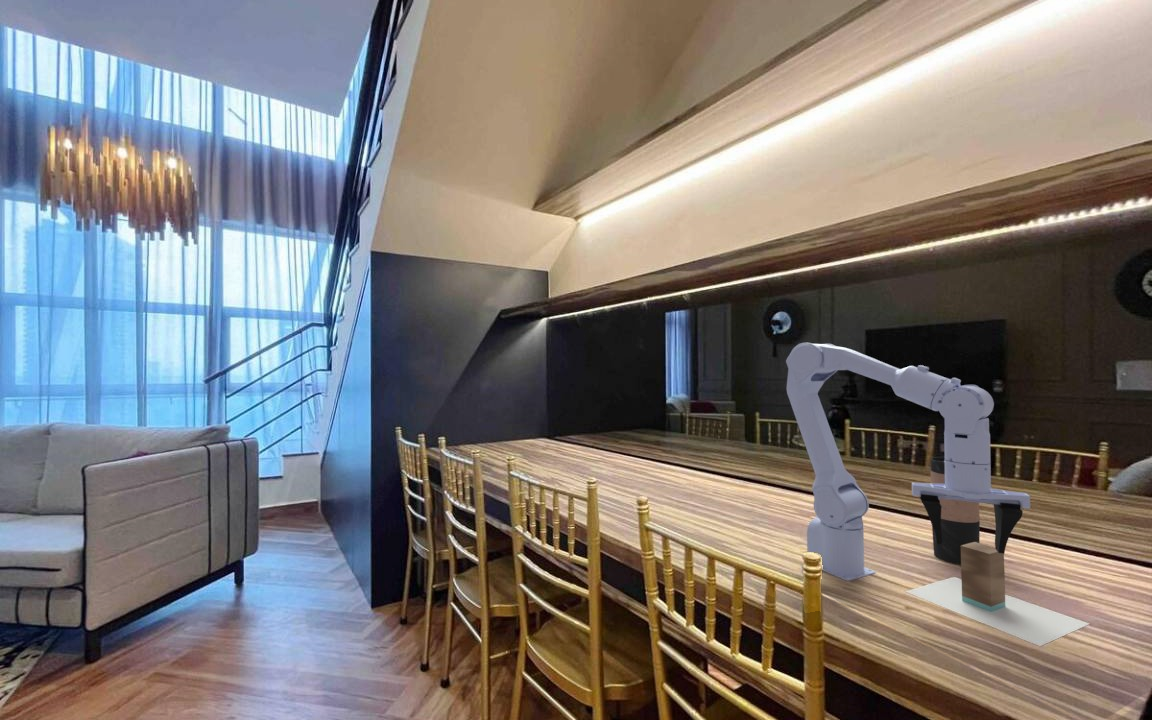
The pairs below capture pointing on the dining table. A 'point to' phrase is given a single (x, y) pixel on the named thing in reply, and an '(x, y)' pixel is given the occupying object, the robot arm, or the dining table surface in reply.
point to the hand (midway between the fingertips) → (968, 546)
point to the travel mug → (954, 520)
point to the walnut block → (982, 576)
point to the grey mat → (1002, 613)
